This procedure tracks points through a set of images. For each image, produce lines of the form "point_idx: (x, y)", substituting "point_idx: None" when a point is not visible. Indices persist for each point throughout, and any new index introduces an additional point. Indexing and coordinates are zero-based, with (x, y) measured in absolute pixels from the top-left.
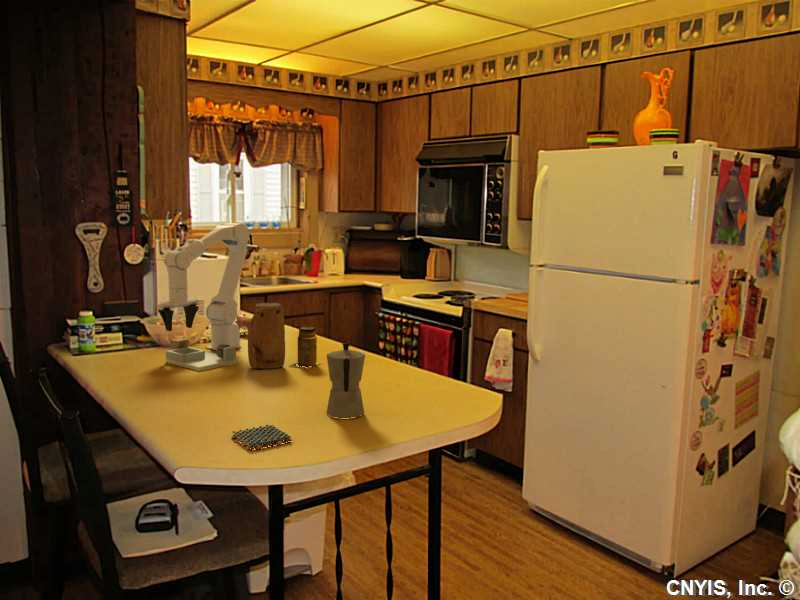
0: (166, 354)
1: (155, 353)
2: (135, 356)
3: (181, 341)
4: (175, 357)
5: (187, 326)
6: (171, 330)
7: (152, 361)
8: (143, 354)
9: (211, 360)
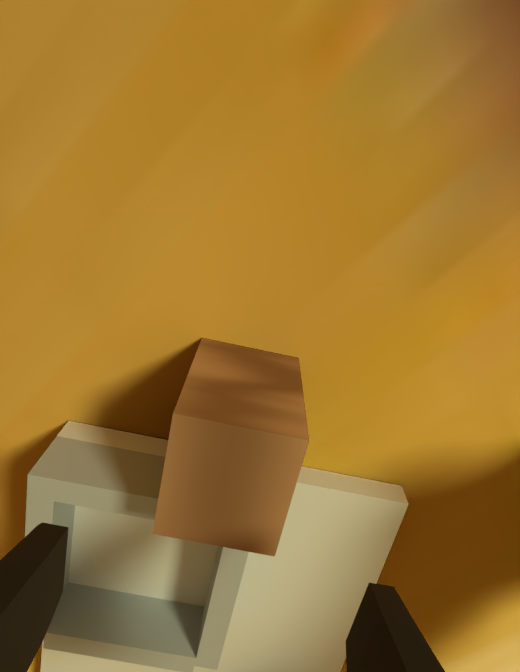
0: (41, 461)
1: (245, 108)
2: (43, 32)
3: (190, 537)
4: None
5: (364, 614)
6: (56, 598)
7: (23, 318)
8: (149, 32)
9: (199, 670)
